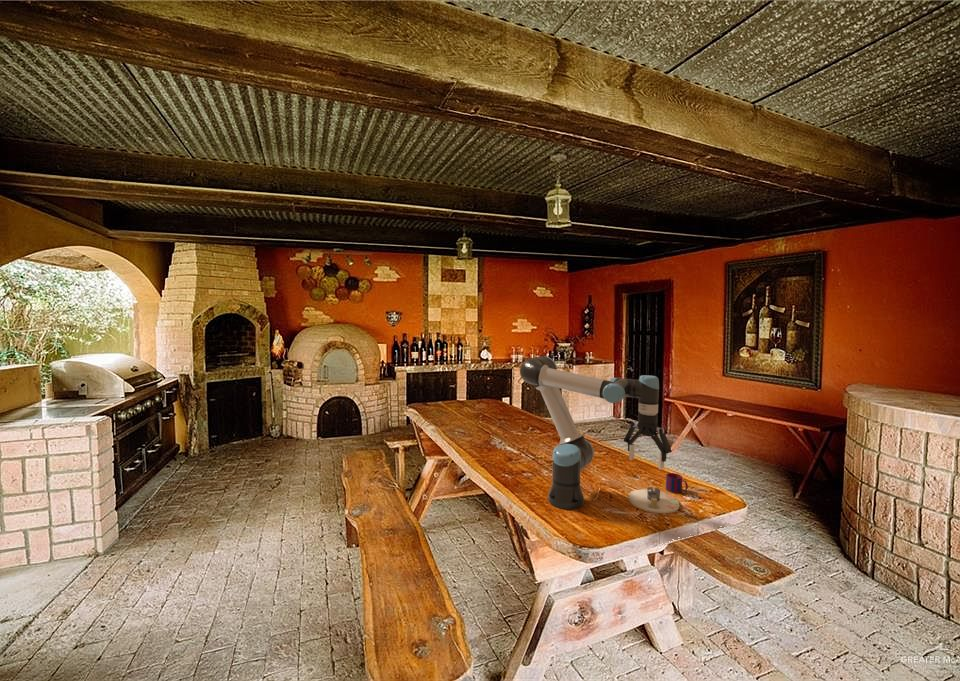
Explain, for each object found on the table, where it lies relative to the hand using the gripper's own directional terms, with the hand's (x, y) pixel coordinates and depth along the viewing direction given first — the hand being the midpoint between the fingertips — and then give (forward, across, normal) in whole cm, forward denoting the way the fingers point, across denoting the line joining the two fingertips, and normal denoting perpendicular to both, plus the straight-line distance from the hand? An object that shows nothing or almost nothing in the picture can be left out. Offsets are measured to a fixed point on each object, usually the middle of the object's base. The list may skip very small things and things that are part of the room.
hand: (645, 464), depth 174 cm
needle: (+17, +2, +4) cm, 17 cm away
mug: (+18, +1, +26) cm, 32 cm away
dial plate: (+18, 0, +7) cm, 19 cm away
